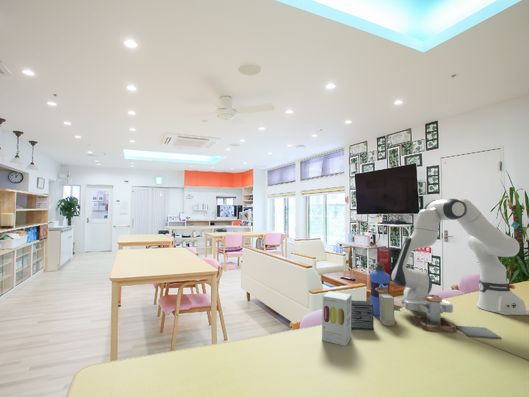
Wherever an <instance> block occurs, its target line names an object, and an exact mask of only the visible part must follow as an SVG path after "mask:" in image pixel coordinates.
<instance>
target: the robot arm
mask: <svg viewBox="0 0 529 397" xmlns="http://www.w3.org/2000/svg"><path fill="white" fill-rule="evenodd" d="M449 220H453V221H454V220H456V221H457V222H458V223H459V224H460V225H461V227H462V228H463V229H464V230H465V231H466V233H467V234H468V235H469V238H468V239H467V240H468V241H467V244H468V247H469V248H470V249H471V251H472V252H473V253H474V254H475V258H476V260H477V262H478V266H479V280H478V288H479V290H478V291H479V293H478V294H479V295H478V300H477V302H476V303H477V304H476V307H477V308H479V309H481V310H484V311H487V312H492V313H496V314H500V315H506V316H508V315H509V316H512V315H513V316H514V315H515V316H528V315H529V309H527V308H526V306H527V305H526V303H525V301H524V300H523V298H521V297H520V296H518V295H517V294H516V293H514V291H512V290H515V289H516V286H515V285H514V284H509V283H507V268H506V266H505V265H503V263H502V262H501V261H500V258H499V257H502V258H510V257H511V258H512V257H516V256H517V254H518V253H519V252H520V243H519V241H518V240H517V239H516V238H514V237H513V236H512V237H511V236H510V235H508V234H506V233H505V232H503V231H501V230H500V229H498V228H497V227H496V226H494V225H493V224H492V223H490V221H489V220H488V219H487V218H486V217H485V215H484V214H483V213H482V212H481V211H480V210H479V209H478V207H477V206H475V205H474V204H473V203H472V202H471V201H470V200H468V199H467V198H462V197H461V198H458V199H457V198H441V199H434V200H430V201H428V202H427V203H426V204H425V206H424V208H423V209H421V210H419V212H418V213H417V216H416V219H415V222H414V228H413V231H412V233H411V235H410V236H407V237H406V238H405V240H404V242H403V243H402V246H401V250H400V252H399V255H398V258H397V261H396V263H395V265H394V267H393V270H392V272H391V274H390V280H391V281H392V284H394V285H395V286H396V287H399V288H404V289H403V296H404V298H403V300H400V303H401V304H402V305H403V307H404V308H405V310H407V311H418V312H422V313H427V312H430V311H429V308H428V307H427V300H425V296H427V295H431V296H437V297H440V298H442V302H440V314H444V313H449V314H450V313H451V314H452V313H453V312H454V306H453V304H452V303H451V302H450V301H448V300H447V299H444V298H443V297H442V296H440V295H434V294H431V293H430V292H432V291H431V290H432V287H433V281H432V277H431V276H430V274H429V273H427V272H426V271H424V270H423V271H422V270H418V269H413V268H408V267H407V264H408V261H409V258H410V256H411V253H412V252H413V251H415V250H418V249H423V248H424V249H425V248H429V247H432V246H433V245H434V244H435V243H436V242H437V240H438V237H439V227H440V223H441V222H442V221H449ZM511 289H512V290H511Z"/></svg>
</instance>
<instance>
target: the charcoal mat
mask: <svg viewBox="0 0 529 397" xmlns="http://www.w3.org/2000/svg"><path fill="white" fill-rule="evenodd" d="M455 327H456V329H458V330H459V331H460V332H461V333H463V334H465V335H466V336H467V337H470V338H485V339H496V340H497V339H498V340H502V337H501V336H500V335H498V334H497V333H496V332H493V331H492V330H491V329H488V328H487V327H481V326H467V325H466V326H464V325H455Z"/></svg>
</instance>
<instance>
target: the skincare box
mask: <svg viewBox="0 0 529 397" xmlns="http://www.w3.org/2000/svg"><path fill="white" fill-rule="evenodd" d="M379 299H380V317H379V321H380V322H381V323H382V324H383V325H384V326H395V298H394V297H393V296H392V295H391V294H390V293H389V294H379Z"/></svg>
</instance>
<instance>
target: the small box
mask: <svg viewBox="0 0 529 397" xmlns="http://www.w3.org/2000/svg"><path fill="white" fill-rule="evenodd" d="M374 317H375V316H374V315H373V304H372V303H371V302H370V300H352V299H351V330H363V331H366V330H367V331H374V330H375V326H374V323H375V322H374V321H375V319H374Z"/></svg>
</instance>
